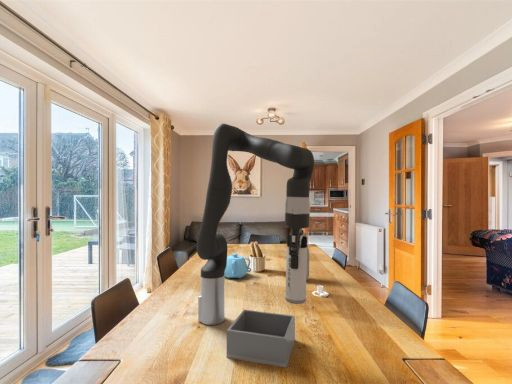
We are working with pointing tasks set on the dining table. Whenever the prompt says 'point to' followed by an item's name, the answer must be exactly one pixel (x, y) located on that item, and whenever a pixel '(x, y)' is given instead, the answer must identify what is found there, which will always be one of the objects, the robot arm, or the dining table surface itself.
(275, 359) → the crate
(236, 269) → the decorative pot
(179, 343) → the dining table surface
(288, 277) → the travel mug
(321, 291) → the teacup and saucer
